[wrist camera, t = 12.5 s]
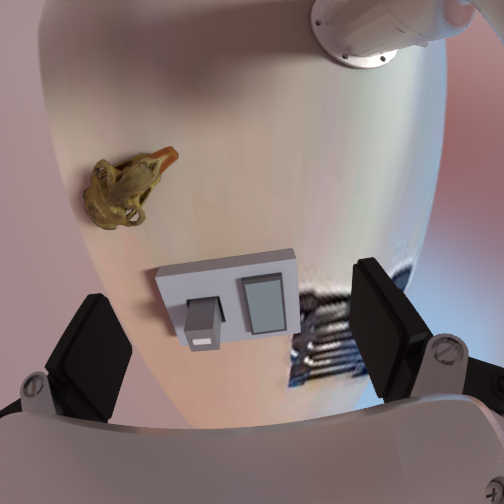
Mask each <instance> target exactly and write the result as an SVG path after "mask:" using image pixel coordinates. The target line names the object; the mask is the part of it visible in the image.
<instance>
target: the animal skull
mask: <svg viewBox="0 0 504 504" xmlns="http://www.w3.org/2000/svg"><path fill="white" fill-rule="evenodd" d="M178 156H179V155H178V153H177V151H176V150H175V149H174V148H173V147H171V146H169V147H166V148H163V149H161V150H159V151H157V152H155V153H153V154H139V155H137V156H136V157H134V158H131V159H128V160H126V161H123V162H121V163H118V164H116V165H114V166H111V165H110V164H109V163H108V162H107V161H106V160H104V159H102V160H101V161H99V162H97V164H96V165H95V166H94V169H93V172H92V176H91V186H90V187H89V188H87V189H86V190H85V191H84V195H83V198H84V199H85V202H84V204H85V210H86V212H87V214H88V215H89V216H90V217H91V219H92V221H93V222H94V223H95V224H96V225H97V226H99V227H100V228H102V229H105V230H114V229H116V228H117V226H118V225H124V226H127V227H130V226H138V225H140V224H142V222H143V221H144V220H145V219H146V216H145V213H144V211H143V210H142V209H141V207H142V206H143V204H144V203H145V201H146V199H147V197H148V196H149V194H150V193H151V191H152V190H153V188H154V186H155V185H156V184H158V183H159V182H160V179H161V174H162V173H163V172H164V171H165V170H166V169H167V168H168V167H169V166H170V165H171V164H172V163H174V162H175V161H176V160H177V159H178ZM102 167H103V168H105V169H104V170H101V171H99V170H100V168H102ZM98 172H99V175H100V176H99V177H98ZM106 175H107V179H106V182H105V181H103V180H101V179H102V178H103V177H105V176H106ZM126 209H132V211H131V212H130V213H128V214H127V216H126ZM137 212H138V213H139V217H138V220H137V221H133V222H132V221H130V219H131V218H132V217H133V216H134V215H135V214H137Z"/></svg>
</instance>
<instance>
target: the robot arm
mask: <svg viewBox="0 0 504 504" xmlns="http://www.w3.org/2000/svg"><path fill="white" fill-rule="evenodd" d="M476 9H478V11H479V12H480V13H481V14H482V16H483V17H484V18H485V20H486V21H487V22H488V24H489V25H490V26H491V27H492V28H493V30H494V31H495V33H496V34H497V36H498V37H499V39H500V41H501V42H502V43H503V45H504V0H316V2H315V3H314V5H313V7H312V10H311V14H310V23H311V28H312V31H313V34H314V36H315V38H316V39H317V41H318V43H319V44H320V45H321V46H322V48H323V49H324V50H325V51H326V52H327V53H328V54H329V55H331V56H332V57H333V58H335V59H336V60H338V61H340V62H342V63H344V64H346V65H348V66H351V67H354V68H360V69H372V68H377V67H380V66H383V65H385V64H387V63H388V62H390V61H391V60H392V59H393V58H394V57H395V55H396V53H397V52H398V49H401V48H405V47H409V46H412V45H417V46H422V47H427V45H428V42H429V41H433V40H438V39H443V38H448V37H452V36H455V35H458V34H460V33H462V32H463V31H464V30H466V29H467V28H468V26H469V25H470V24H471V22H472V20H473V18H474V16H475V13H476ZM316 23H317V24H318V25H319V26H317V25H316ZM342 56H344V59H343V58H342ZM380 59H381V60H382V61H381V60H380ZM349 327H350V330H351V332H352V335H353V337H354V339H355V342H356V344H357V347H358V349H359V351H360V354H361V356H362V359H363V361H364V364H365V366H366V369H367V371H368V374H369V376H370V379H371V381H372V384H373V386H374V389H375V392H376V394H377V396H378V398H383V400H384V404H380V405H376V406H373V407H369V408H364V409H360V410H356V411H351V412H347V413H342V414H337V415H332V416H327V417H321V418H316V419H310V420H304V421H298V422H291V423H283V424H275V425H266V426H256V427H243V428H226V429H165V428H163V429H162V428H147V427H135V426H124V425H116V424H108V419H110V418H111V417H112V414H113V411H114V407H115V404H116V401H117V397H118V394H119V391H120V387H121V385H122V381H123V378H124V375H125V372H126V369H127V366H128V364H129V361H130V357H131V355H132V345H131V343H130V342H129V340H128V338H127V336H126V334H125V332H124V330H123V328H122V326H121V324H120V322H119V320H118V319H117V317H116V315H115V312H114V310H113V308H112V306H111V304H110V302H109V300H108V298H107V297H105V296H104V295H103V294H101V293H97V294H89V295H88V296H87V297H86V299H85V300H84V301H83V303H82V304H81V306H80V307H79V309H78V311H77V312H76V314H75V315H74V317H73V319H72V320H71V322H70V323H69V325H68V327H67V328H66V330H65V332H64V333H63V335H62V337H61V338H60V340H59V342H58V344H57V345H56V347H55V349H54V350H53V352H52V354H51V356H50V358H49V360H48V362H47V363H46V365H45V368H46V370H47V371H48V372H49V374H48V375H45V373H43V372H34V373H32V374H30V375H29V376H28V377H27V378H26V379H25V380H24V381H23V383H22V385H21V388H20V396H21V398H20V399H18V400H16V401H15V402H13V403H12V404H10V405H9V406H7V407H5V408H4V409H2V410H1V411H0V504H504V368H502V367H499V366H496V365H493V364H490V363H487V362H484V361H480V360H478V359H475V358H471V357H469V355H468V349H467V346H466V344H465V343H464V342H463V341H462V340H461V339H460V338H458V337H457V336H454V335H452V334H445V333H444V334H438V335H436V336H433V334H432V333H431V331H430V330H429V328H428V327H427V325H426V324H425V322H424V321H423V319H422V318H421V316H420V315H419V313H418V312H417V311H416V309H415V308H414V306H413V305H412V304H411V302H410V301H409V300H408V298H407V297H406V295H405V294H404V293H403V291H402V290H401V289H398V288H397V287H396V285H395V284H394V283H393V281H392V280H391V279H390V277H389V276H388V275H387V273H386V272H385V271H384V269H383V268H382V267H381V265H380V264H379V263H378V262H377V260H376V259H375V258H374V257H371V258H364V259H359V260H358V262H357V264H354V265H353V275H352V290H351V303H350V314H349Z"/></svg>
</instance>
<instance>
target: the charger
mask: <svg viewBox="0 0 504 504" xmlns="http://www.w3.org/2000/svg"><path fill="white" fill-rule="evenodd" d="M221 319H222V306H221V302H220V298H219V296H213V297H204V298H195V299H190V304H189V308H188V313H187V317H186V322H185V327H184V334H185V337H186V339H187V342H188V344H189V346H190V349H191V351H192V352H193V351H206V350H219V349H220V334H221Z"/></svg>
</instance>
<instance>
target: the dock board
mask: <svg viewBox="0 0 504 504" xmlns="http://www.w3.org/2000/svg"><path fill="white" fill-rule="evenodd" d="M155 279H156V282H157V285H158V288H159V290H160V293H161V296H162V298H163V301H164V304H165V306H166V309H167V311H168V314H169V316H170V319H171V321H172V324H173V326H174V329H175V331H176V334H177V336H178V338H179V341H180V343H181V345H182V346H185V345H189V344H188V342H187V339H186V337H185V334H184V327H185V322H186V317H187V313H188V308H189V304H190V299H195V298H204V297H213V296H219V298H220V302H221V306H222V319H221V334H220V343H222V342H232V341H241V340H250V339H258V338H266V337H273V336H280V335H287V334H294V333H300V312H299V292H298V276H297V260H296V256H295V253H294V250H293V248H292V249H285V250H278V251H270V252H263V253H256V254H249V255H242V256H234V257H227V258H220V259H213V260H205V261H198V262H191V263H184V264H176V265H169V266H162V267H159V269H158V272H157V274H156V276H155Z"/></svg>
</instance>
